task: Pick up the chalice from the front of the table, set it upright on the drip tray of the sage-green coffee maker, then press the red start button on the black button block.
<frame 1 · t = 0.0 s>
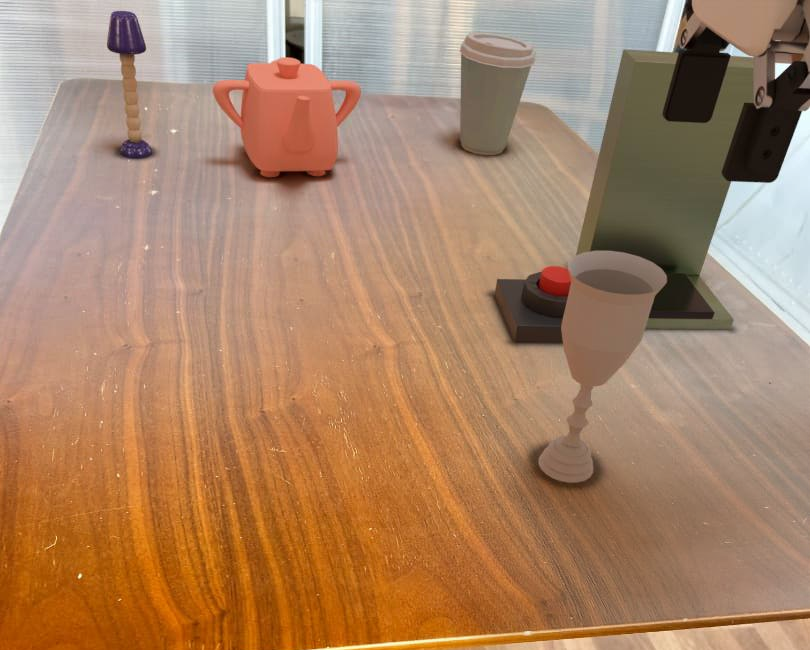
hand: (714, 148, 53), 28 cm above the table, tool pointing down, fingers open, 9 cm apart
chalice: (564, 469, 76), on the table
toy lamp: (139, 155, 118), on the table
coffee maker: (647, 299, 100), on the table
teapot: (290, 169, 119), on the table
button block: (548, 320, 94), on the table
disposable coffee cup: (484, 151, 131), on the table
start button: (557, 281, 91), point 4 cm above the table, slide at 0.1 cm
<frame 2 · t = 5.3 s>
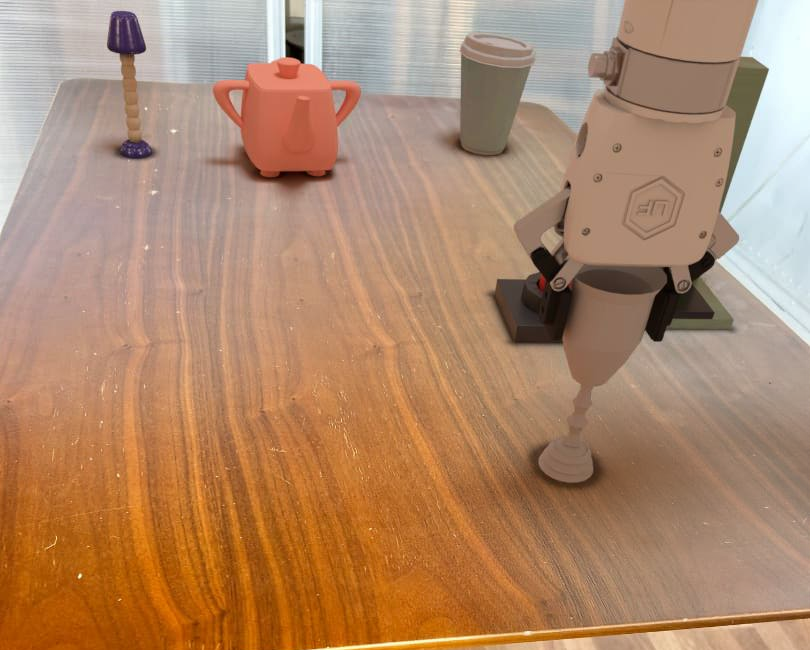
hand: (601, 330, 67), 13 cm above the table, tool pointing down, fingers closed on chalice, 7 cm apart
chalice: (564, 469, 76), on the table, touching gripper
everything else where it was.
when the fingers open (16 cm above the table, at t = 13.4 s): chalice stays where it is, resting on coffee maker.
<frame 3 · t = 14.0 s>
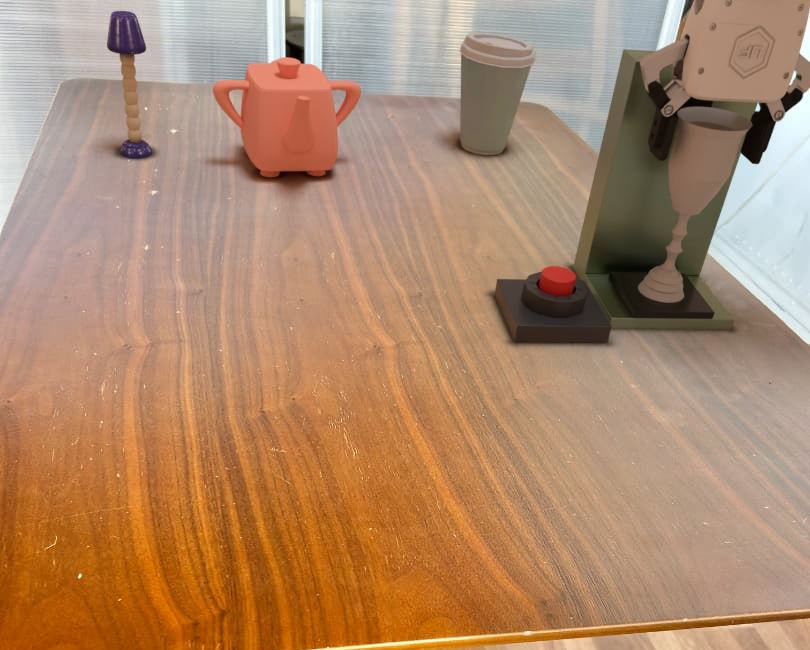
hand: (703, 157, 87), 17 cm above the table, tool pointing down, fingers open, 9 cm apart
chalice: (660, 292, 97), point 2 cm above the table, touching coffee maker
everything else where it was.
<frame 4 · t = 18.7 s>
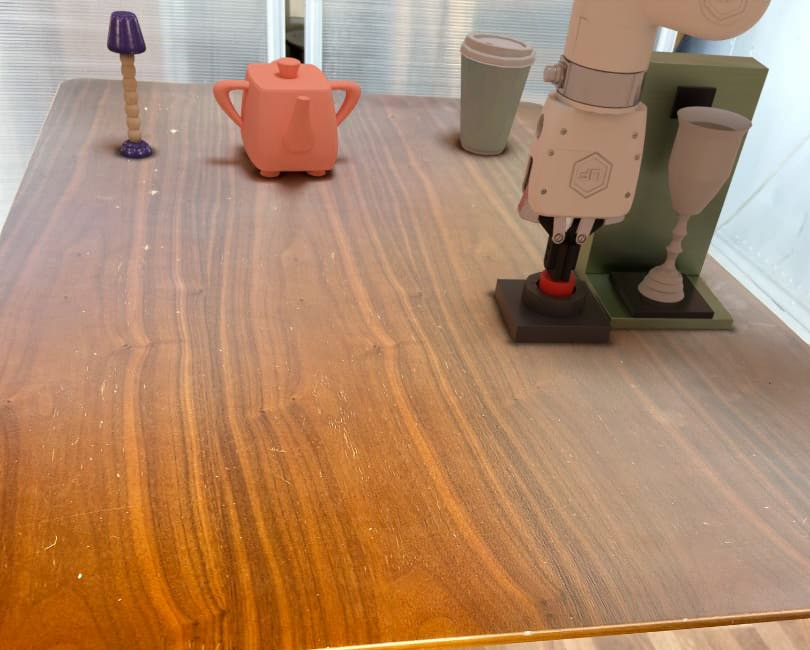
hand: (557, 274, 91), 5 cm above the table, tool pointing down, fingers closed
start button: (556, 283, 91), point 4 cm above the table, slide at -0.1 cm, touching gripper
everything else where it was.
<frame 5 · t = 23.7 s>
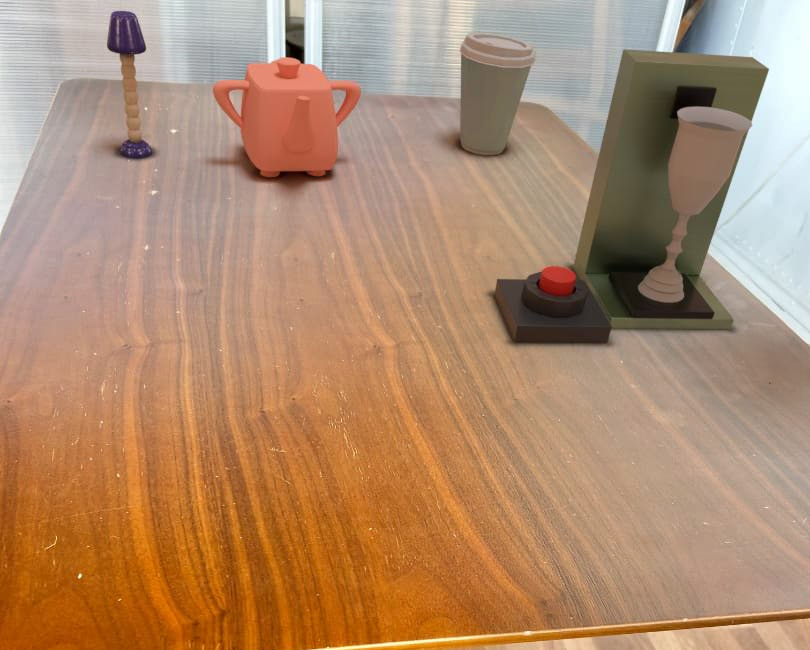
start button: (557, 281, 91), point 4 cm above the table, slide at 0.1 cm
everything else where it was.
at the end: chalice 0.0 cm from the target spot on the coffee maker, point 2.1 cm above the coffee maker's base; chalice tilted 0°; start button pushed in 1.1 cm at the most during the clip, back to where it started at the end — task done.
